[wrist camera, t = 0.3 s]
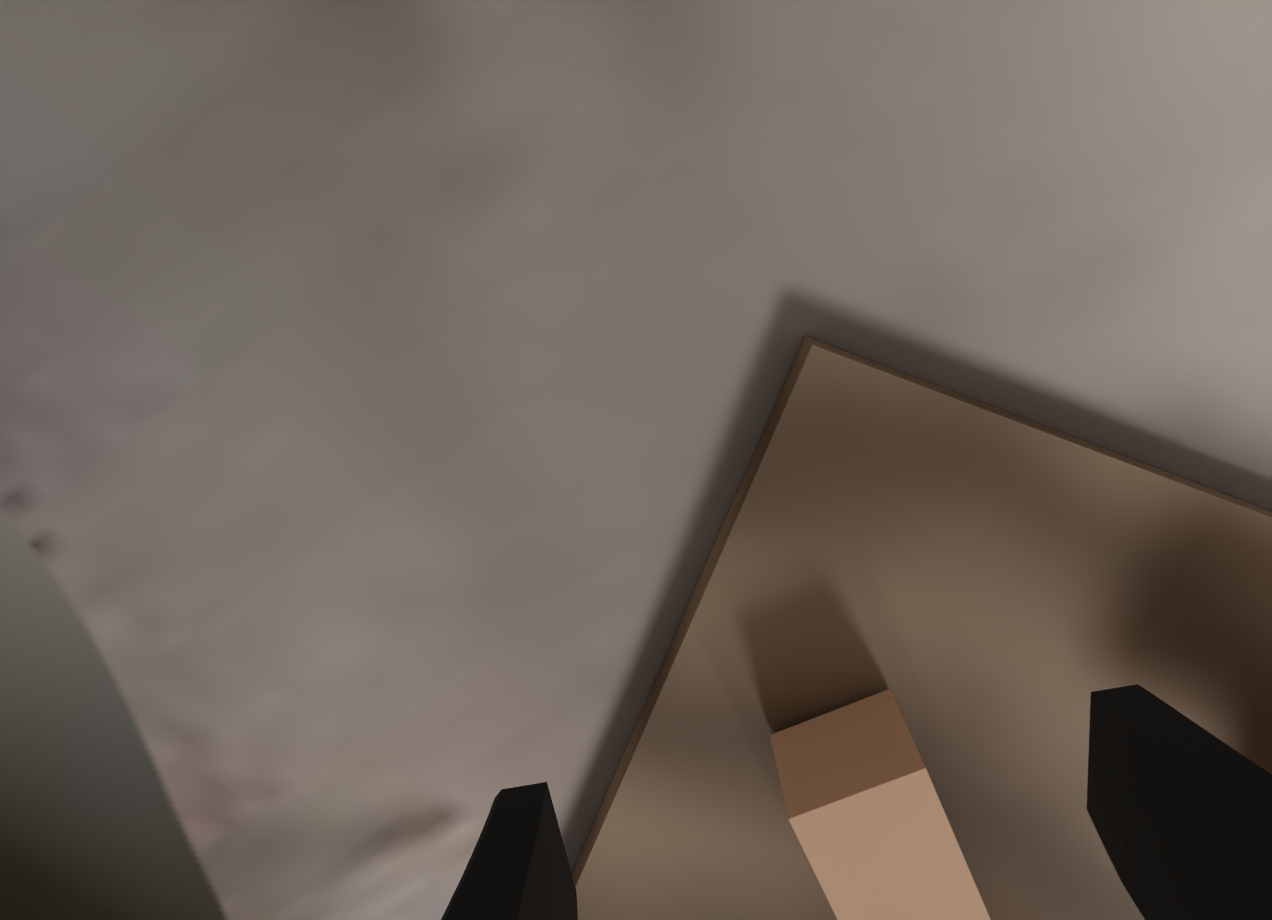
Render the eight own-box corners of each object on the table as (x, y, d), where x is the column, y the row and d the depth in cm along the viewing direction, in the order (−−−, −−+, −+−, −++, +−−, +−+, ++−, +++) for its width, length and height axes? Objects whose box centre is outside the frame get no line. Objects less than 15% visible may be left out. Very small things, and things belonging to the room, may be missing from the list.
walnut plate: (1060, 1156, 30) (1074, 1190, 29) (516, 1000, 28) (512, 1032, 27) (1462, 583, 24) (1496, 602, 23) (804, 334, 22) (812, 344, 21)
